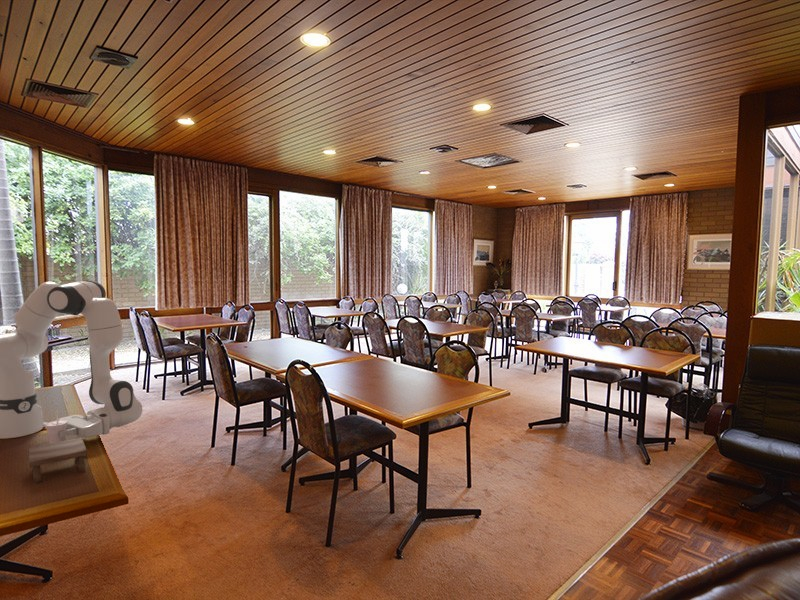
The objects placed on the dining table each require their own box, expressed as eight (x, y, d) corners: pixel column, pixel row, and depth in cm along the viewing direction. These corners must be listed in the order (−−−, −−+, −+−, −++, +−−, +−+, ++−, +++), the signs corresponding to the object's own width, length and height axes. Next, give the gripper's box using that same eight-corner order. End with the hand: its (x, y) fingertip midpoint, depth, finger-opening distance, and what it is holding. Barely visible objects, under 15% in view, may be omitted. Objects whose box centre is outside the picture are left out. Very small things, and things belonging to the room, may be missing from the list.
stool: (29, 469, 149) (28, 447, 149) (82, 457, 158) (81, 437, 158) (31, 485, 138) (29, 462, 138) (87, 471, 147) (86, 450, 147)
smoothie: (57, 454, 161) (54, 414, 160) (41, 452, 162) (39, 413, 161) (73, 447, 167) (71, 408, 166) (58, 445, 169) (56, 407, 168)
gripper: (81, 408, 180) (39, 418, 169) (110, 417, 170) (68, 428, 158) (82, 424, 181) (40, 435, 169) (111, 434, 171) (69, 447, 159)
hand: (54, 432), depth 164 cm, fingers closed on smoothie, 6 cm apart
